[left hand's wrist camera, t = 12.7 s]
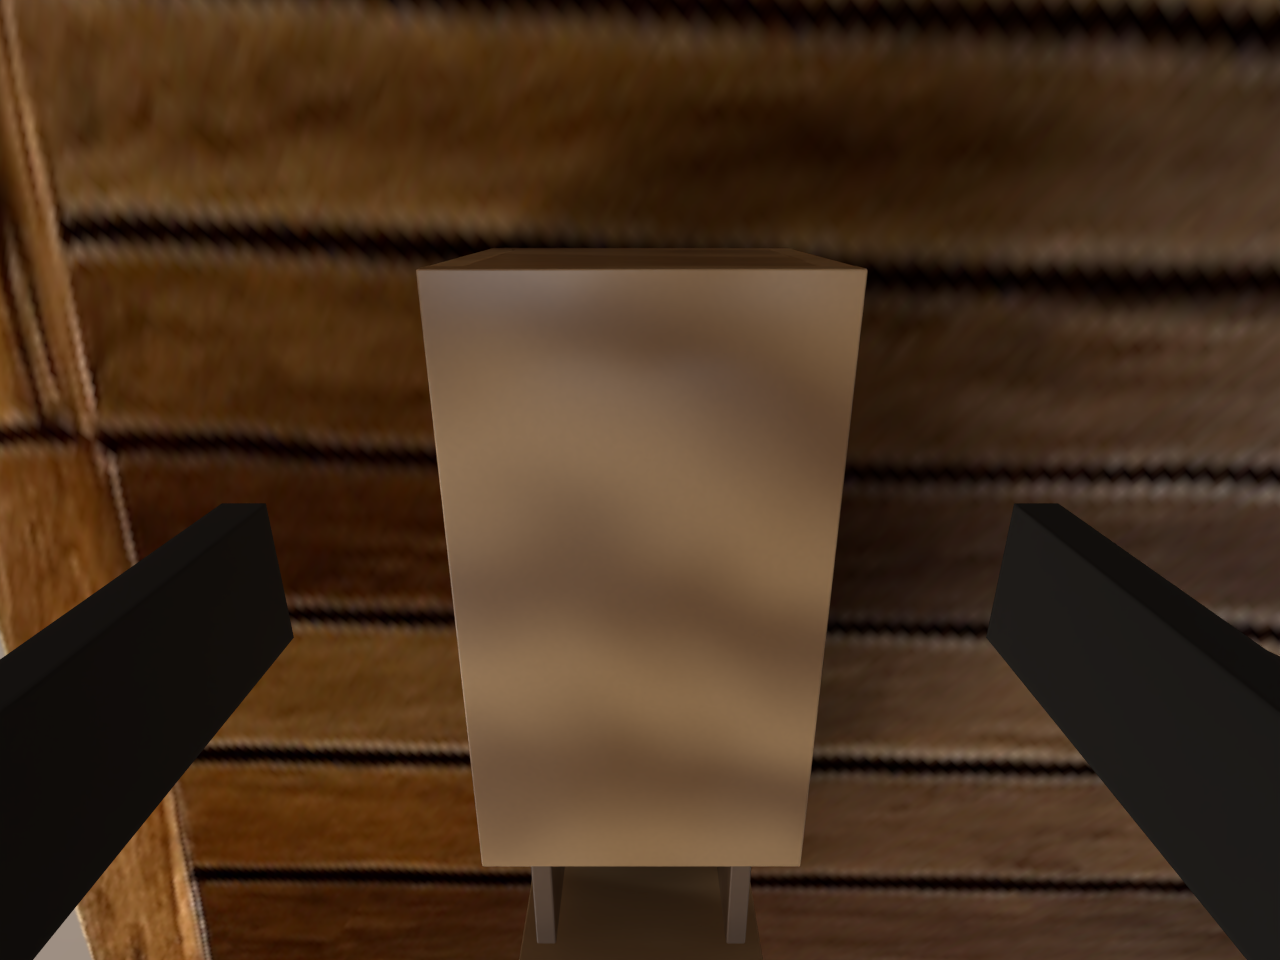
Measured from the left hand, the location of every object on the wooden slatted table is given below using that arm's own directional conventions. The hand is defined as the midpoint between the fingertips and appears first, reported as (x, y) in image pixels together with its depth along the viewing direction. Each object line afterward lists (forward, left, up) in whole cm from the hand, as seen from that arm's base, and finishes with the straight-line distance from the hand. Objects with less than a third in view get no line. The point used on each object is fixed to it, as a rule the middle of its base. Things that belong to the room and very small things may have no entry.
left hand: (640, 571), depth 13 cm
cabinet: (0, +6, -17) cm, 18 cm away
